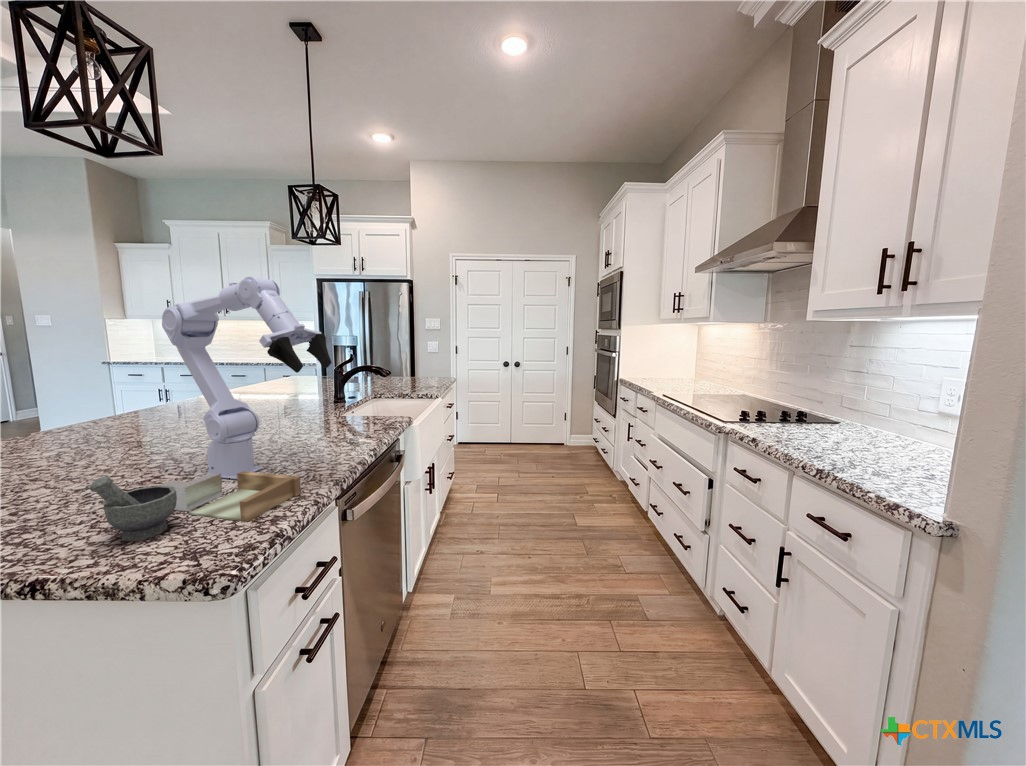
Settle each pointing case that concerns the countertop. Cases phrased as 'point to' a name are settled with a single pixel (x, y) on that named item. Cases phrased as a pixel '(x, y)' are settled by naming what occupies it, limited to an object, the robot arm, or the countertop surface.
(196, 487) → the bracket
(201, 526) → the countertop surface
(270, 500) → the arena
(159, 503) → the mortar and pestle
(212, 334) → the robot arm
